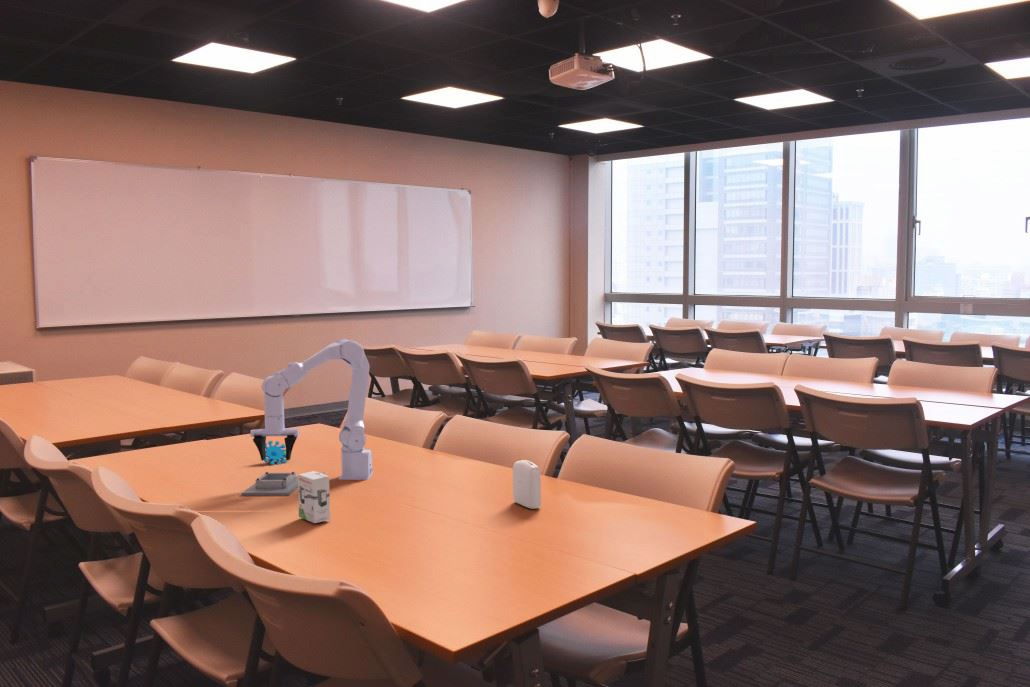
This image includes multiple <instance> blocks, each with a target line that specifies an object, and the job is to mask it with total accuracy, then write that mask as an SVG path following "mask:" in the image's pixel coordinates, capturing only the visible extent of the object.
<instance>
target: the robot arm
mask: <svg viewBox="0 0 1030 687" xmlns="http://www.w3.org/2000/svg"><path fill="white" fill-rule="evenodd" d="M330 360H342V361H344V362H346V364H347V365H348V366H349V367H350V368H351V369H352V374H351V379H350V380H351V382H350V383H351V384H350V388H349V389H350V390H349V396H348V404H347V405H348V406H347V413H346V418H345V421H344V422H343V425H342V429H341V430H340V432H339V435H338V439H339V442H340V444H341V445H342V446H341V448H340V449H341V450H340V453H341V454H340V455H341V456H340V457H341V458H340V459H341V475H340V476H339V477H338V479H337V480H339V481H342V480H343V481H346V480H347V481H348V480H350V481H355V480H360V481H364V480H367V481H369V479H370V478H371V476H373V474H374V473H373V454H372V450H371V449H365V445H366V443H367V438H366V435H365V424H364V415H365V414H364V413H365V406H366V398H367V391H368V390H367V389H368V384H369V374H370V363H369V362H370V361H368V358H367V356H366V353H365V349H364V348H363V346H362V345H360V343H359V342H357V341H355V340H349V339H347V338H340V339H338V340H336V341H335V342H331V343H330V344H329V345H327V346H325V347H324V348H322V349H321V350H319V351H318V352H316V353H315V354H312V356H310V357H309V358H307V359H305V360H304V361H301V362H297V361H295V362H288V363H287V366H286V367H284V368H283V369H281V370H279V371H274V372H273V375H269V376H267V377H265V378H264V379H263V381H262V384H261V386H260V387H261V390H262V391H263V392H264V396H263V399H264V400H263V408H264V428H259V429H258V428H257V429H251V430H250V437H251V438H252V441H253V443H254V444H255V446H256V449H257V450H258V453H259V456H260V461H264V460H265V459H266V458H267V457H266V448H265V445H266V443H267V437H284V440H283V441H284V445H285V449H286V458H285V459H286V460H287V461H290V460H291V457H292V452H293V448H294V445H295V443H296V441H297V439H298V437H300V429H299V428H298V429H297V428H296V429H295V428H286V426H285V404H284V403H285V402H284V393H285V391H286V389H289V388H291V387H293V386H294V385H295V384H297V383H299V382H300V381H302V380H304V379H305V378H306V376H307V373H308V372H309V371H311V370H313V369H315V368H317V367H319V366H320V365H322V364H325V363H326V362H328V361H330Z"/></svg>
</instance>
